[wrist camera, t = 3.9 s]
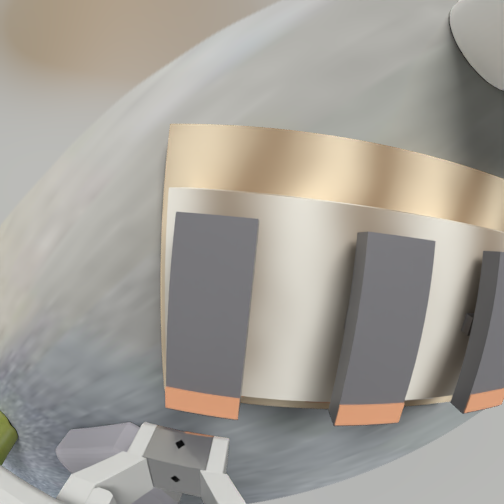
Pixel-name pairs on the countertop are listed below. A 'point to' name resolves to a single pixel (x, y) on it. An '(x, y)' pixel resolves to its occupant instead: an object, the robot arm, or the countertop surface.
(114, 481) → the robot arm
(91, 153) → the countertop surface
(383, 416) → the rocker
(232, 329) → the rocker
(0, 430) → the plant pot
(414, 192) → the switch panel
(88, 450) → the charger
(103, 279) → the countertop surface
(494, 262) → the rocker
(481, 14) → the mug
